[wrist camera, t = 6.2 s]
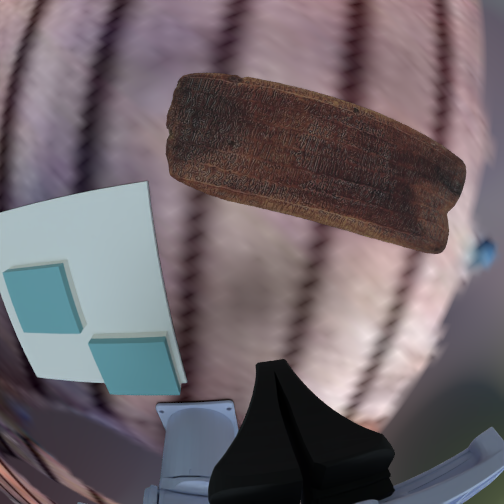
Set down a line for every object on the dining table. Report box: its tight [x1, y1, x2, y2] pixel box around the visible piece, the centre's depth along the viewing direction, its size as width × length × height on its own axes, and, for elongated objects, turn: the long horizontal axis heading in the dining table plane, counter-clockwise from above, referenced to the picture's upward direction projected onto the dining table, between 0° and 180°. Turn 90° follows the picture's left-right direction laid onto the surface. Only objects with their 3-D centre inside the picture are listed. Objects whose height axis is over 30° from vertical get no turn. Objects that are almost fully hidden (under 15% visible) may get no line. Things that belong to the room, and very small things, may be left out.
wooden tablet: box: [166, 73, 466, 254], centre depth 20 cm, size 26×2×10 cm
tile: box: [3, 260, 87, 334], centre depth 20 cm, size 6×2×7 cm
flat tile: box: [88, 331, 181, 395], centre depth 23 cm, size 6×7×2 cm
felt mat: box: [0, 181, 187, 383], centre depth 21 cm, size 18×18×1 cm
